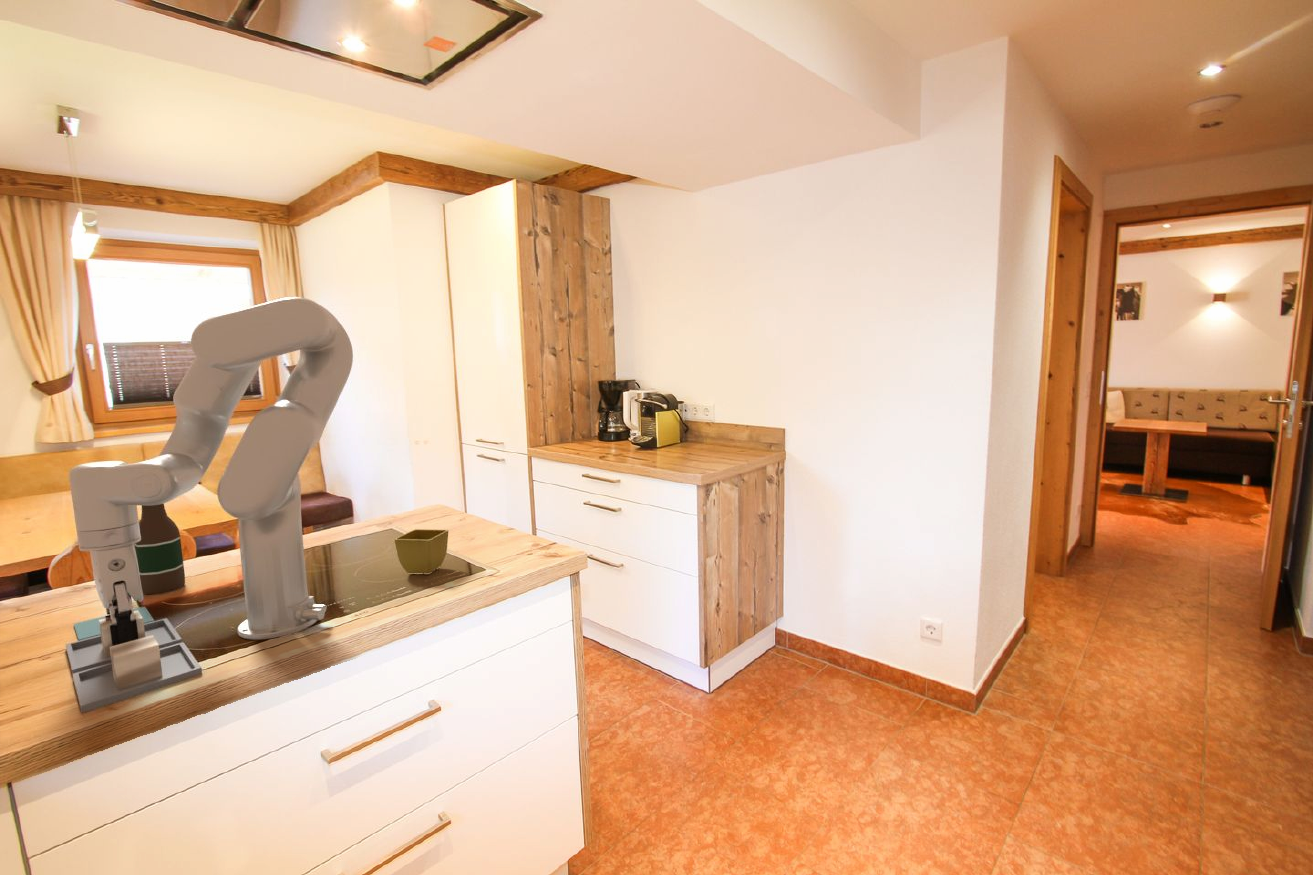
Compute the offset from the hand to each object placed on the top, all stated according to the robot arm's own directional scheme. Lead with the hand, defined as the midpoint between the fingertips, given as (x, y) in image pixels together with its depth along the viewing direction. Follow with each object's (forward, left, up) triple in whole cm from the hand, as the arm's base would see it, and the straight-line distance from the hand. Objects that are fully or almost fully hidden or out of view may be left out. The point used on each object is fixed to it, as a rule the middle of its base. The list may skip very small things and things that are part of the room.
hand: (123, 639), depth 97 cm
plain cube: (-12, +9, -1) cm, 15 cm away
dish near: (-12, +9, -2) cm, 15 cm away
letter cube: (0, 0, -1) cm, 1 cm away
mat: (+11, -8, -2) cm, 14 cm away
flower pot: (-33, -39, -2) cm, 51 cm away
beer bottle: (+20, -26, -2) cm, 33 cm away
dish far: (0, 0, -2) cm, 2 cm away
